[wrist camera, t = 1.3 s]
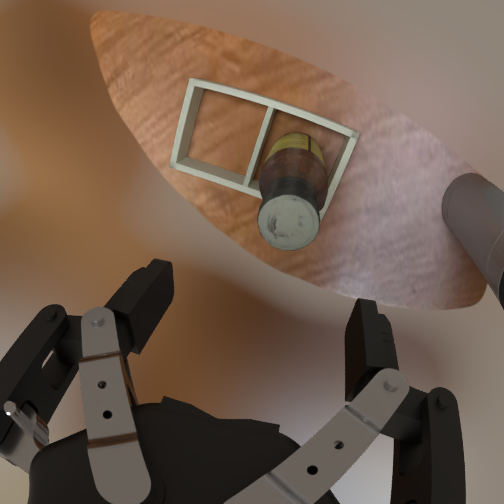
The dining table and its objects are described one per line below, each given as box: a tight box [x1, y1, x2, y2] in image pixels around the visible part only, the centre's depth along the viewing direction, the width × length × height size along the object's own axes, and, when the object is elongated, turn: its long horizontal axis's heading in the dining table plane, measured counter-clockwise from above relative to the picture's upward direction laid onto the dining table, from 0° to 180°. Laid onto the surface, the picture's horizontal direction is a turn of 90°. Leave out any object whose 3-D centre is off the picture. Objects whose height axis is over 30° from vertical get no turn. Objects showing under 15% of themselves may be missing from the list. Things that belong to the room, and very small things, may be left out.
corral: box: [169, 78, 359, 221], centre depth 34 cm, size 20×12×4 cm, turn 73°
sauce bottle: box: [257, 132, 328, 251], centre depth 27 cm, size 7×6×20 cm
